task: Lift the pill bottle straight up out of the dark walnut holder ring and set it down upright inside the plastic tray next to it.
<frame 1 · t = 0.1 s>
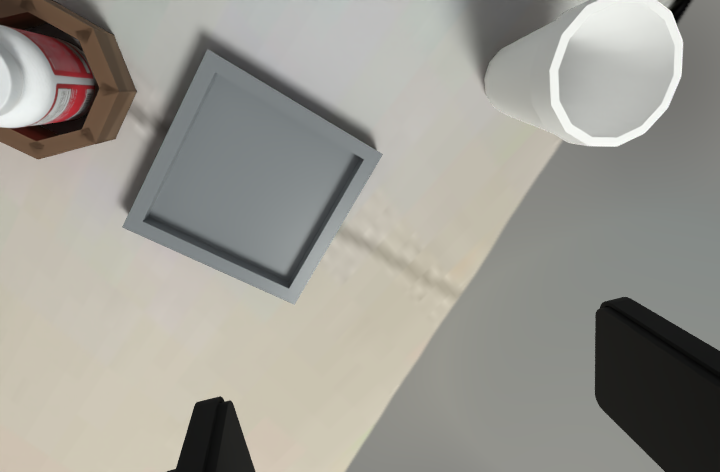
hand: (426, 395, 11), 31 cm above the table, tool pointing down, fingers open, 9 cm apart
foam cup: (515, 79, 40), on the table
holder ring: (59, 80, 34), on the table
tray: (257, 184, 39), on the table
pill bottle: (61, 80, 35), resting in holder ring
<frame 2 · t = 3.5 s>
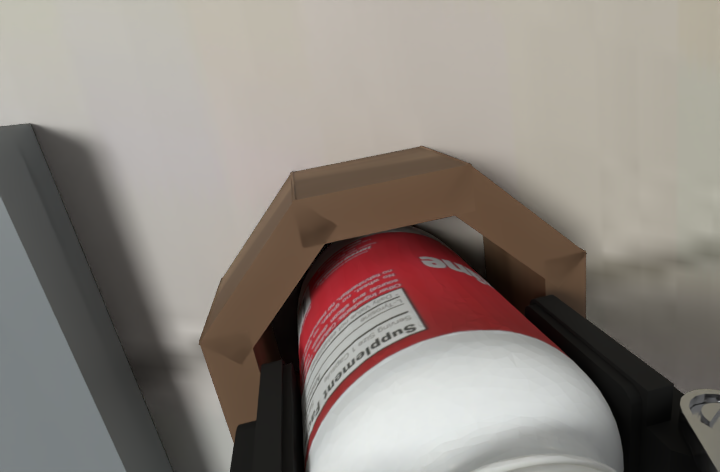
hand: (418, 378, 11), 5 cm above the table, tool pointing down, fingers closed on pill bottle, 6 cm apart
holder ring: (382, 300, 16), on the table
pill bottle: (380, 298, 16), resting in holder ring, touching gripper
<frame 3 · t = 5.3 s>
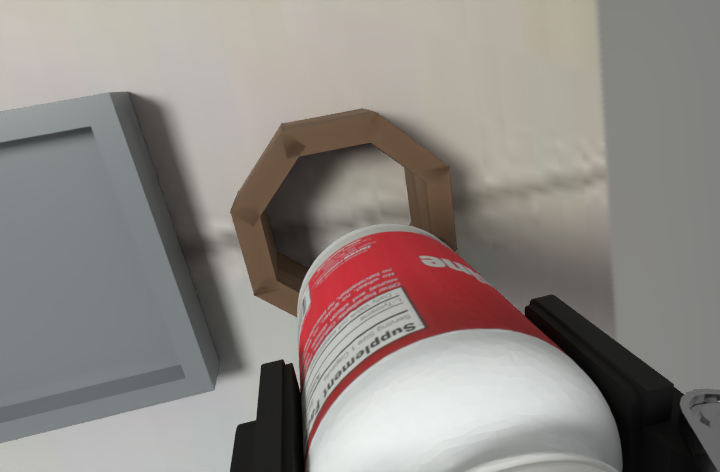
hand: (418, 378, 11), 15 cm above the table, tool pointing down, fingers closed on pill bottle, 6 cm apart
holder ring: (340, 209, 25), on the table
tray: (25, 276, 23), on the table
pill bottle: (380, 297, 16), point 10 cm above the table, touching gripper
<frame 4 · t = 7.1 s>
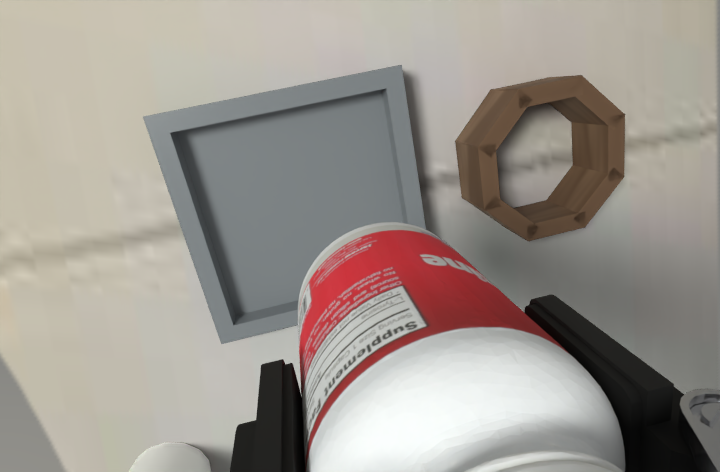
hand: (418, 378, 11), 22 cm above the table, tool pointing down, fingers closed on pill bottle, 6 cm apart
foam cup: (172, 470, 37), on the table
holder ring: (523, 155, 33), on the table
tray: (304, 204, 32), on the table
pill bottle: (381, 296, 16), point 17 cm above the table, touching gripper
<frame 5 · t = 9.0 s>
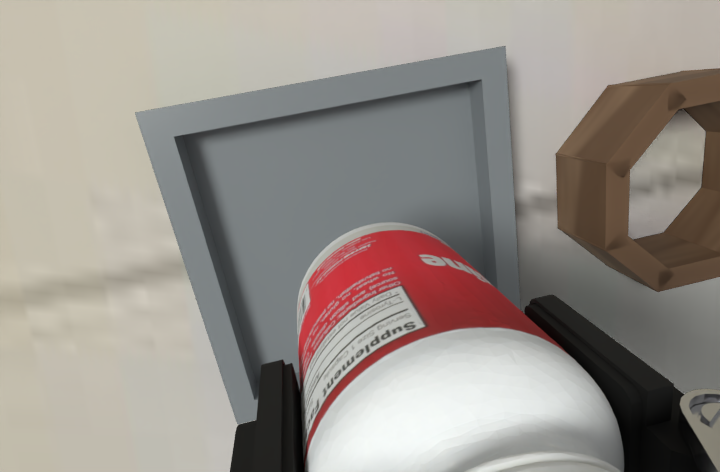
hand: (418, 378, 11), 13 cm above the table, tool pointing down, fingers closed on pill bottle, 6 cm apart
holder ring: (641, 173, 25), on the table
tray: (352, 236, 23), on the table
pill bottle: (380, 296, 16), point 8 cm above the table, touching gripper
when the fingers open (7 cm above the table, at t = 10.6 s): pill bottle drops 1 cm, resting on tray.
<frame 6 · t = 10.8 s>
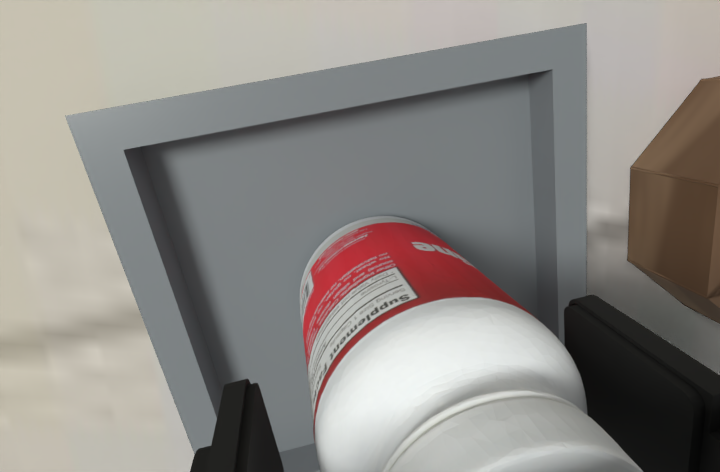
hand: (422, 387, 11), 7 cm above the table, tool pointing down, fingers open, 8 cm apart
tray: (369, 274, 18), on the table
pill bottle: (375, 285, 17), point 1 cm above the table, touching tray
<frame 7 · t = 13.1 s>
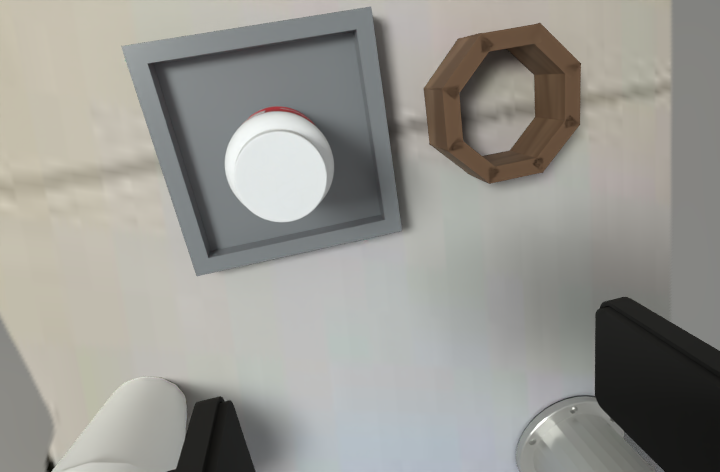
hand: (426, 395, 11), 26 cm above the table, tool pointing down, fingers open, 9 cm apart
foam cup: (149, 405, 38), on the table
holder ring: (488, 105, 35), on the table
tray: (278, 145, 33), on the table
pill bottle: (279, 148, 32), point 1 cm above the table, touching tray
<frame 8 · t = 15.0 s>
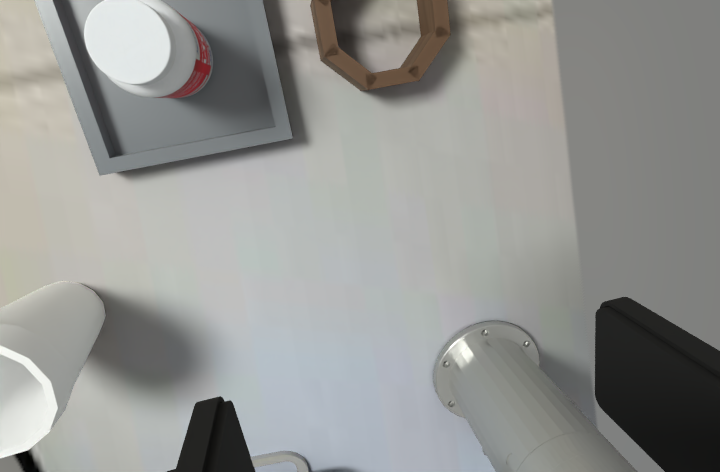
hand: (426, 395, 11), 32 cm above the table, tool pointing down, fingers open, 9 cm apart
foam cup: (70, 310, 41), on the table
holder ring: (374, 23, 38), on the table
tray: (176, 57, 36), on the table
pill bottle: (175, 58, 36), point 1 cm above the table, touching tray
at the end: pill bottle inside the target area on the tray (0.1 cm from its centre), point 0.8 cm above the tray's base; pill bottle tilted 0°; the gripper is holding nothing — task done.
